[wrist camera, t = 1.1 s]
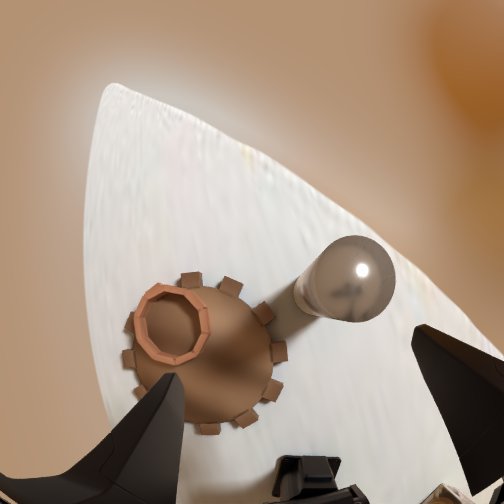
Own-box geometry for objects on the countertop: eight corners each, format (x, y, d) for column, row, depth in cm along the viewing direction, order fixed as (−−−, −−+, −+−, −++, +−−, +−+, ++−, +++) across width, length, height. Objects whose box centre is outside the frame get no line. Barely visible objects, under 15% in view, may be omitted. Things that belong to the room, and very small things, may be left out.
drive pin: (334, 317, 25) (390, 325, 12) (290, 312, 25) (309, 317, 13) (340, 272, 26) (397, 242, 13) (296, 266, 26) (319, 229, 13)
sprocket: (270, 441, 23) (270, 453, 20) (123, 404, 24) (112, 411, 22) (298, 287, 26) (301, 285, 23) (140, 262, 27) (128, 258, 25)
